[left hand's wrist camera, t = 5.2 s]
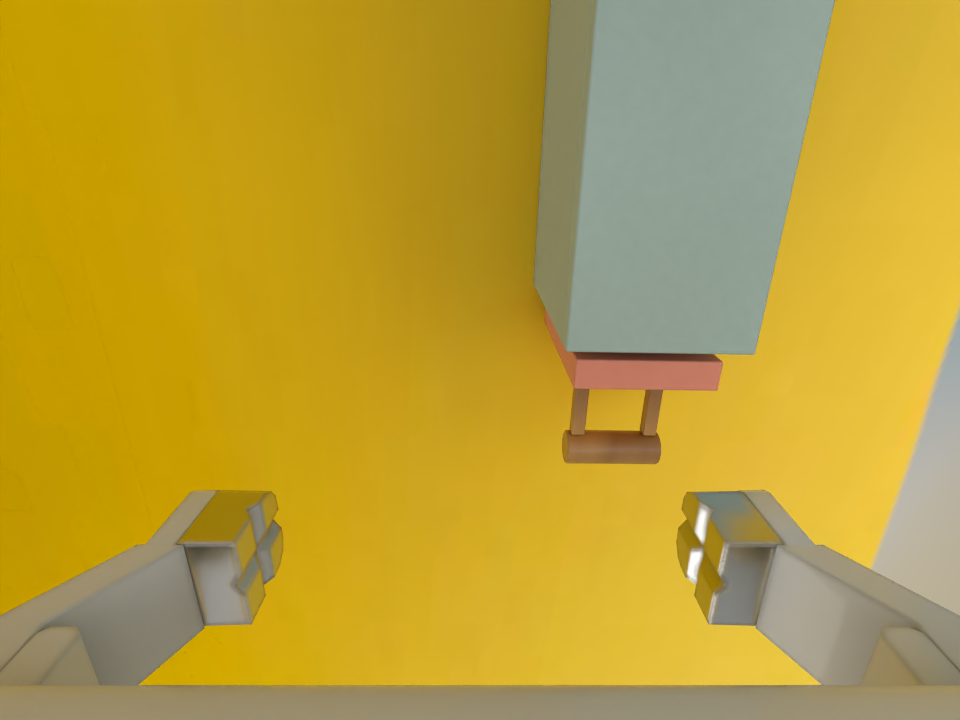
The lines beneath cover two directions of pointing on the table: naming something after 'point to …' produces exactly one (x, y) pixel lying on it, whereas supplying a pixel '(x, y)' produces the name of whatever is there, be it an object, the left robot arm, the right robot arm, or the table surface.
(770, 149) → the cabinet
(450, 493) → the table surface
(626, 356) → the drawer
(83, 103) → the table surface
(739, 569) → the left robot arm
